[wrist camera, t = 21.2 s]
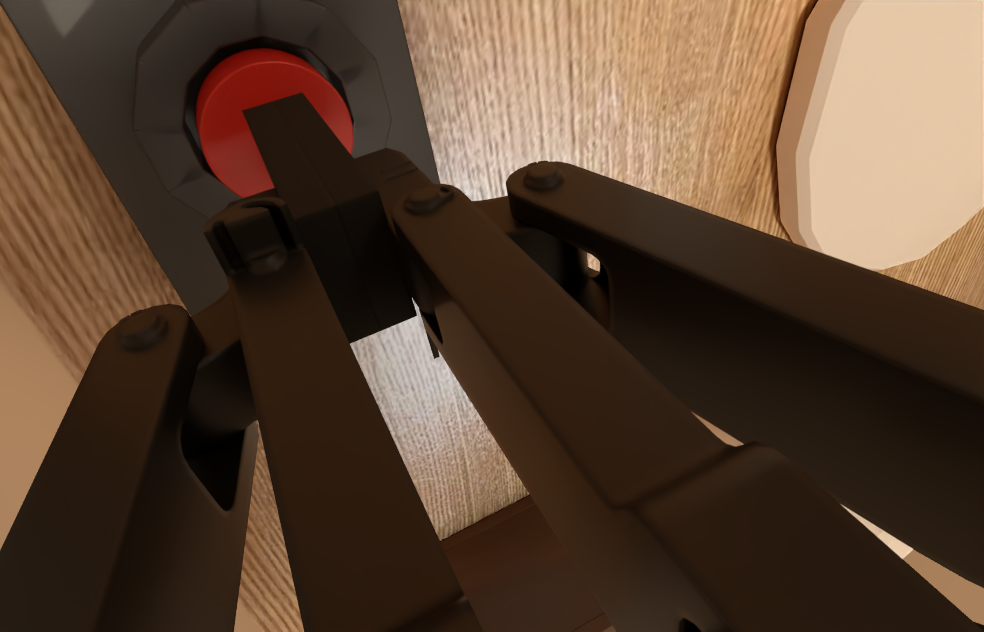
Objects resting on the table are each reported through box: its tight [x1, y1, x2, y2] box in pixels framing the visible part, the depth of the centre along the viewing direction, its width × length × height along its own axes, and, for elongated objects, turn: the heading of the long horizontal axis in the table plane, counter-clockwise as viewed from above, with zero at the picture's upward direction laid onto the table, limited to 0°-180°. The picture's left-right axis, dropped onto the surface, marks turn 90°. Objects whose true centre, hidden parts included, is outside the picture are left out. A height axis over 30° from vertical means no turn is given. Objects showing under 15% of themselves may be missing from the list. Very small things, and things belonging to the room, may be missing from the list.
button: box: [196, 48, 353, 198], centre depth 17 cm, size 4×4×2 cm
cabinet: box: [440, 495, 616, 632], centre depth 40 cm, size 15×13×10 cm
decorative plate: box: [776, 0, 984, 271], centre depth 33 cm, size 25×4×25 cm
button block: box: [0, 0, 440, 316], centre depth 19 cm, size 10×12×4 cm
